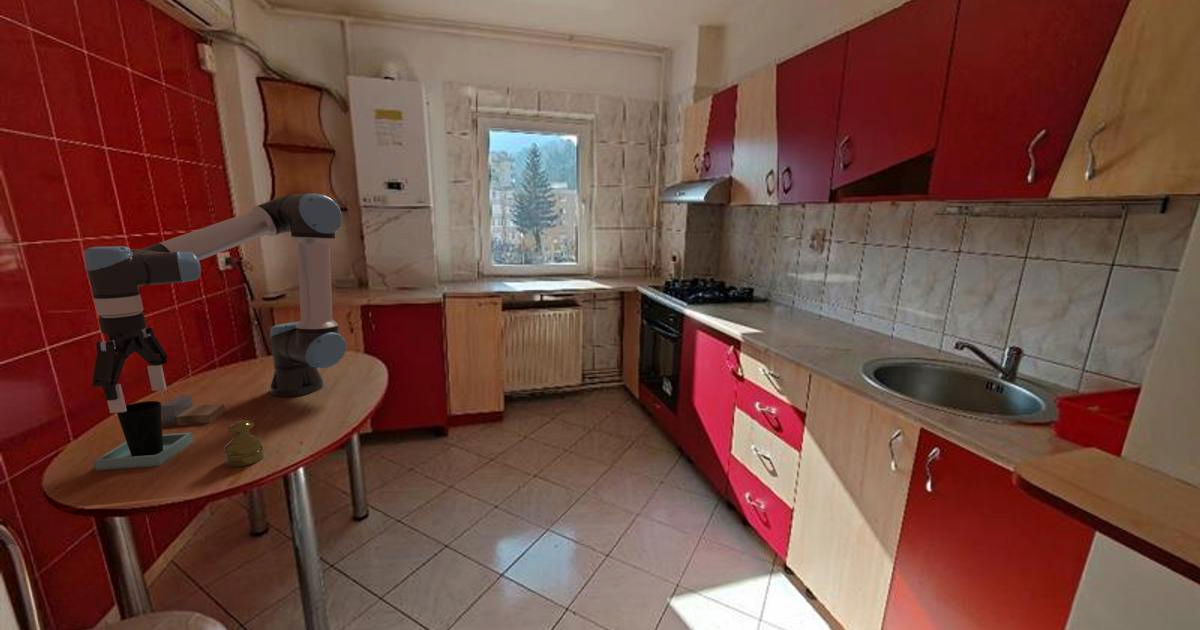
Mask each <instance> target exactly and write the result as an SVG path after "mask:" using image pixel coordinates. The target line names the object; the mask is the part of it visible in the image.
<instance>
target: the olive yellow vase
mask: <svg viewBox="0 0 1200 630" xmlns="http://www.w3.org/2000/svg"><path fill="white" fill-rule="evenodd" d="M254 425H255V424H254V422H253V421H250V420H243V419H242V420H237V421H236V422H234V423H232V424H231V425H229V426H228V428H227V431H228V432H229V433H233V434H234V437H233V438H232V439H231V440H230V441H229V442H227V443H226V444H225V446H224V447H223V450H224V453H225V456H224V457H225V462H226V466H229V467H231V468H241V467H246V466H249V465H252V464H256V463H257V462H259V461H260V460H262V459H263V458H264V456H265V454H264V446H262V445H263V439H262V438H261V437H260V436H257V435H254V434H251V433H250V430H251V429H252V428H254Z"/></svg>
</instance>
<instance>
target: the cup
mask: <svg viewBox="0 0 1200 630" xmlns="http://www.w3.org/2000/svg"><path fill="white" fill-rule="evenodd" d="M161 405H162V402H160V401H156V400H148V401H140V402H136V403H135V402H134V403H131V404H127V405H126V409H127V411H125V412H118V413H116V415H117V417H118V418H117V419H118V420H119V421H118V422H119V424H120V427H121V430H122V433H123V435H124V438H125V442H126V441H127V444H128V447H129V450H130V453H131V456H132V457H134V456H147V455H156V454H158V453H160V452H162V451H163V436H162V435H163V419H162V413H161Z"/></svg>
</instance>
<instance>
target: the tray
mask: <svg viewBox="0 0 1200 630" xmlns="http://www.w3.org/2000/svg"><path fill="white" fill-rule="evenodd" d="M162 436H163V451H162V452H160V453H158V454H156V455H147V456H134V457H132V456H131V453H130V450H129V447H128V444H127V441H126V440H125V441H124V442H123V443H121V444H119V445H118V446H116V447H115V448H113V449H111V450H110V451H108V452H107V453H105V454H103V455H101V456H99V457H98V458H96V459H95V460H93V466H94V468H95V472H101V471H113V470H125V469H135V468H137V469H138V468H150V467H151V468H152V467H161V466H162V465H164V464H165V463H166V462H167V461H169V460H171V459H172V458H173V457H174V456H176V455H178V453H180V452H181V451H183V450H184V449H186V448H187V447H188V446H189V445H191V444H192V443H193V442H194V436H193V432H181V433H180V432H179V433H167V434H166V433H164V434H163V433H162Z"/></svg>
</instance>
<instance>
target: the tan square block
mask: <svg viewBox="0 0 1200 630" xmlns="http://www.w3.org/2000/svg"><path fill="white" fill-rule="evenodd" d="M225 412H226V407H225V403H220V404H219V403H218V404H217V403H216V404H200V405H199V404H198V405H197V404H196V405H193V406H192V407H190V408H189V409H187V410H185V411H184V412H182V413H181V414H179V415H177V416H176V422H177V425H176V426H187V425H201V424H210V423H212V422H213V421H214V420H216V419H217V418H219V417H221V415H223V414H224V413H225Z"/></svg>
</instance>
